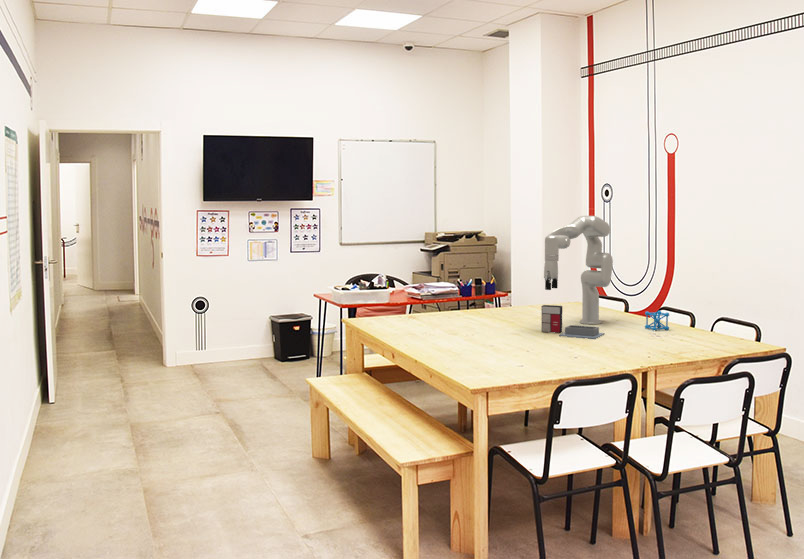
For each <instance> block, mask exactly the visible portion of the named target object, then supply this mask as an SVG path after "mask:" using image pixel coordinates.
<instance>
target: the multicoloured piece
mask: <svg viewBox="0 0 804 559" xmlns="http://www.w3.org/2000/svg"><path fill="white" fill-rule="evenodd" d="M548 332H555V333H554V334H562V333H563V306H562V305H556V304H555V305H554V304H551V305H550V304H549V305H548V304H542V305H541V333H548ZM561 332H562V333H561Z"/></svg>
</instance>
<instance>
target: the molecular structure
mask: <svg viewBox="0 0 804 559" xmlns="http://www.w3.org/2000/svg"><path fill="white" fill-rule="evenodd" d="M644 315H645V317H646V319H645V320H646V321H645V322H646V323H645V326H644V328H645V329H646V328H648V329H651V330H652V331H653V330H656V331H657V330H665V331H669V329H670V327H669V326H668V322H669V318H668V317H670V313H669V312H665V313H664V312H662V311H661V310H657V311H655V312H649V311H645V313H644ZM649 317H650V318H651V319H653V322H651V323H650V324H648V323H649ZM664 318H666V319H665V325H664V324H663V323H662V322H661V320H662V319H664ZM658 327H659V328H658Z"/></svg>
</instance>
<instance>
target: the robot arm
mask: <svg viewBox="0 0 804 559" xmlns="http://www.w3.org/2000/svg"><path fill="white" fill-rule="evenodd" d="M610 233H611V226H610V224H609V223H608V222H607V221H605V220H604V219H602V218H600V217H599V216H597V215H580V216H578V217H576V218H575V219H574V220H573V221H572V222H571V223H569V224H568V225H565V226H562V227H560V228H556V229H555V230H552V231H551V232H550V233H549V234H548V235H546V236H545V237H544V267H543V268H544V270H543V279H544V282H545V284H544V285H545V288H544V289H545V290H546V291H551V290H552V289H558V284H559V282H558V281H559V280H558V278H559V265H558V264H559V263H558V262H559V256H560V254H559V250H564V249H567V248H568V247H570V245H571V240H572V239H573V240H574V239H576V238H578V237H579V236H580V235H582V234H583V236H584V238H585V240H586V243H587V247H586V255H585V265H586V267H587V268H589V269H588V270H584V271H583V272H582V273H581V275H580V283H581V289H582V303H581V304H582V316H581V317H582V319H580V320H579V323H580V324H584V325H600V324H602V320H599V319H600V314H599V313H600V293H599V291H598V288H607V287H608V286H610V284H611V279H612V273H613V272H612V271H613V265H614V259H613V256H612V255H611V253H609V252H602V250H603V243H602V241H601V239H600V237H601V238H605V237H608V236H609V234H610ZM592 269H593V270H592ZM594 269H597V270H594ZM598 269H600V270H598Z"/></svg>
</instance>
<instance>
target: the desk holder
mask: <svg viewBox="0 0 804 559" xmlns="http://www.w3.org/2000/svg"><path fill="white" fill-rule="evenodd" d="M604 334H605V332H600V326H590V325H589V326H588V325H576V324H575V325H574V324H570V325H567V326H565V327H564V332H562V333H559V334H558V337H561V336H567V337H566V338H573V337H576V339H585V338H588V339H587V340H597V339H599V338H601V337H603V336H604ZM602 335H603V336H602ZM600 336H601V337H600ZM598 337H599V338H598ZM596 338H597V339H596Z"/></svg>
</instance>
